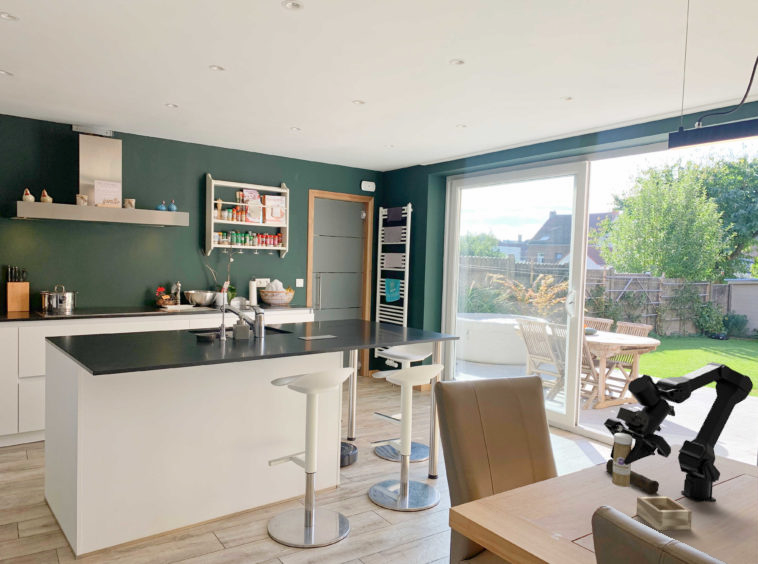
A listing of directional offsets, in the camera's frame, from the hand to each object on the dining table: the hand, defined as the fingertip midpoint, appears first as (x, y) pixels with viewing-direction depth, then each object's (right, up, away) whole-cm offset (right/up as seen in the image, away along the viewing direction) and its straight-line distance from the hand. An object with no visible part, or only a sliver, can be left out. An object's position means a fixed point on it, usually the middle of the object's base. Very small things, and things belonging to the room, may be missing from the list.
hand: (618, 460), depth 148 cm
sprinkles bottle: (+1, -7, +1) cm, 7 cm away
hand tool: (+12, -14, +21) cm, 28 cm away
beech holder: (+9, -14, -6) cm, 17 cm away
